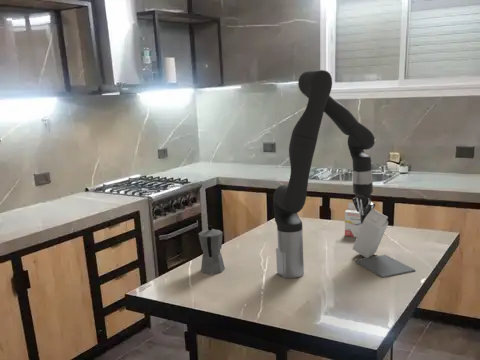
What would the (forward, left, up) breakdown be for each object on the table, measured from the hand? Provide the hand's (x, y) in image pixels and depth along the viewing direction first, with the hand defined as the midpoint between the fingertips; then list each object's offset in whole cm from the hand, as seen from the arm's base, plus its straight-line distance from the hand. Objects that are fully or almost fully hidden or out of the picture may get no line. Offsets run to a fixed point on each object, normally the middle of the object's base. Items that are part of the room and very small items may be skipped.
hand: (364, 223), depth 188 cm
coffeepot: (-61, +10, -13) cm, 63 cm away
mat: (-1, -15, -13) cm, 20 cm away
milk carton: (-1, -1, -11) cm, 11 cm away
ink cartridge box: (+10, +22, -13) cm, 28 cm away
